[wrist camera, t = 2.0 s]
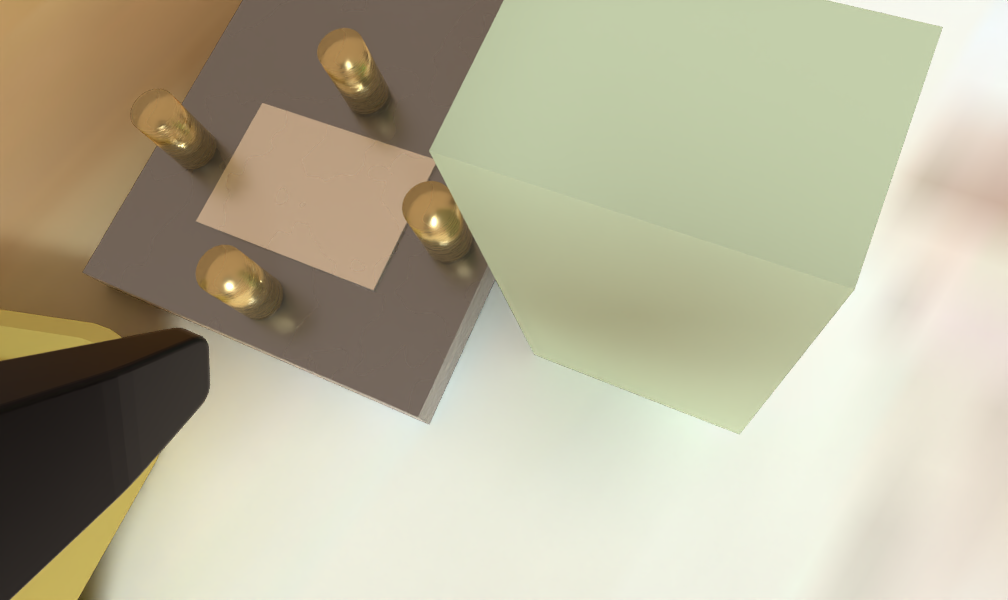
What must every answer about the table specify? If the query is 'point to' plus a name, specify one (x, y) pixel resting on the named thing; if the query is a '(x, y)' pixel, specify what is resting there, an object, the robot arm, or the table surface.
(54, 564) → the plastic component
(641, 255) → the board block
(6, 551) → the robot arm
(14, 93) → the table surface
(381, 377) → the chassis
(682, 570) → the table surface
